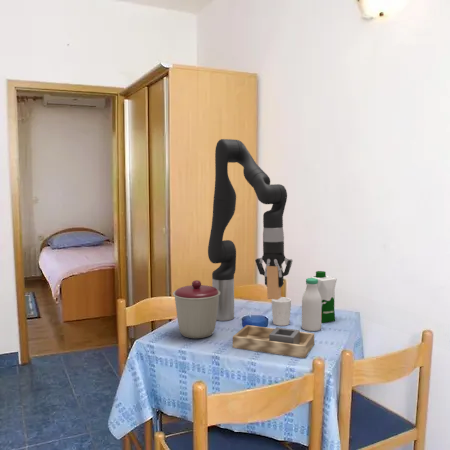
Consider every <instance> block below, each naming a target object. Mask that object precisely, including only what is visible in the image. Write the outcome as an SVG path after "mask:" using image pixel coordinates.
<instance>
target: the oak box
mask: <svg viewBox="0 0 450 450" xmlns="http://www.w3.org/2000/svg"><path fill="white" fill-rule="evenodd" d="M274 329H275V328H274V327H266V326H257V325H249V324H246V325H245V326H243V328H241V329H240V330H239V331H238V332H237V333H235V334H234V335H233V336H232V348H234V349H239V350H247V351H254V352H258V353H259V352H260V353H268V354H273V355H274V354H275V355H282V356H287V357H295V358H301V359H302V358H303V359H305V358H306V357H307V356H308V355H309V352H310V351H311V350H312V348H313V347H314V345H315V333H314V332H307V331H306V332H305V331H300V344H299V345H298V344H291V343H283V342H276V341H269V334H270V333H271V332H272V331H273V330H274Z"/></svg>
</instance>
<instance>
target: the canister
mask: <svg viewBox="0 0 450 450" xmlns="http://www.w3.org/2000/svg"><path fill="white" fill-rule="evenodd" d="M219 295H220V291H219V290H217V289H216V288H214V287H212V286H210V285H205V284H202V282H201V281H200V280H198V279H196V280H193V281H192V282H191V285H185V286H182V287H179V288H177V289H176V290H174V291H173V292H172V296H173V297H174V301H175V309H176V310H175V311H176V317H177V323H178V329H179V333H180V334H181V335H182V336H183V337H185V338H189V339H203V338H207V337H210V336H211V335H213V333H214V332H215V331H216V330H215V329H216V325H217V320H216V317H217V308H218V297H219Z"/></svg>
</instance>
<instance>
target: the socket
mask: <svg viewBox="0 0 450 450" xmlns="http://www.w3.org/2000/svg"><path fill="white" fill-rule="evenodd" d="M300 332H301V330H300V329H296V328H295V329H293V328H285V327H284V328H283V327H279V326H278V327H276V328H274V330H273V331H272V332H271V333H270V334H269V341H276V342H283V343H291V344H298V345H299V344H300Z"/></svg>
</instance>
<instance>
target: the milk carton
mask: <svg viewBox="0 0 450 450" xmlns="http://www.w3.org/2000/svg"><path fill="white" fill-rule="evenodd" d="M310 278H316V279H318V285H317V288H318V291H319V293H320V296H321V301H322V321H321V324H323V323H331V322H336V317H335V316H336V314H335V289H336V284H337V280H338V279H337V278H336V277H334V276H330V275H327V274H326V271H322V270H317V271H315V276H310Z"/></svg>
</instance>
